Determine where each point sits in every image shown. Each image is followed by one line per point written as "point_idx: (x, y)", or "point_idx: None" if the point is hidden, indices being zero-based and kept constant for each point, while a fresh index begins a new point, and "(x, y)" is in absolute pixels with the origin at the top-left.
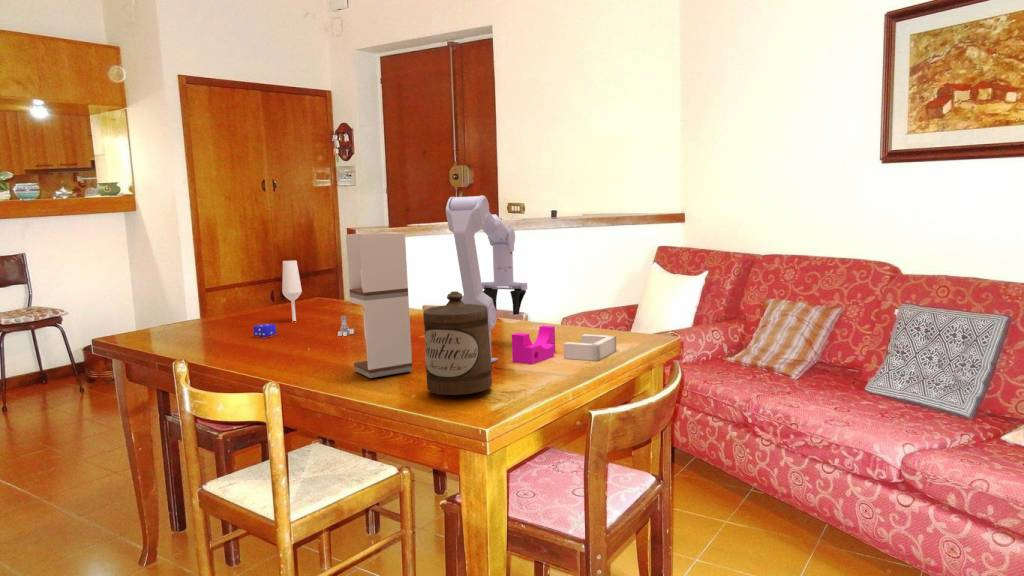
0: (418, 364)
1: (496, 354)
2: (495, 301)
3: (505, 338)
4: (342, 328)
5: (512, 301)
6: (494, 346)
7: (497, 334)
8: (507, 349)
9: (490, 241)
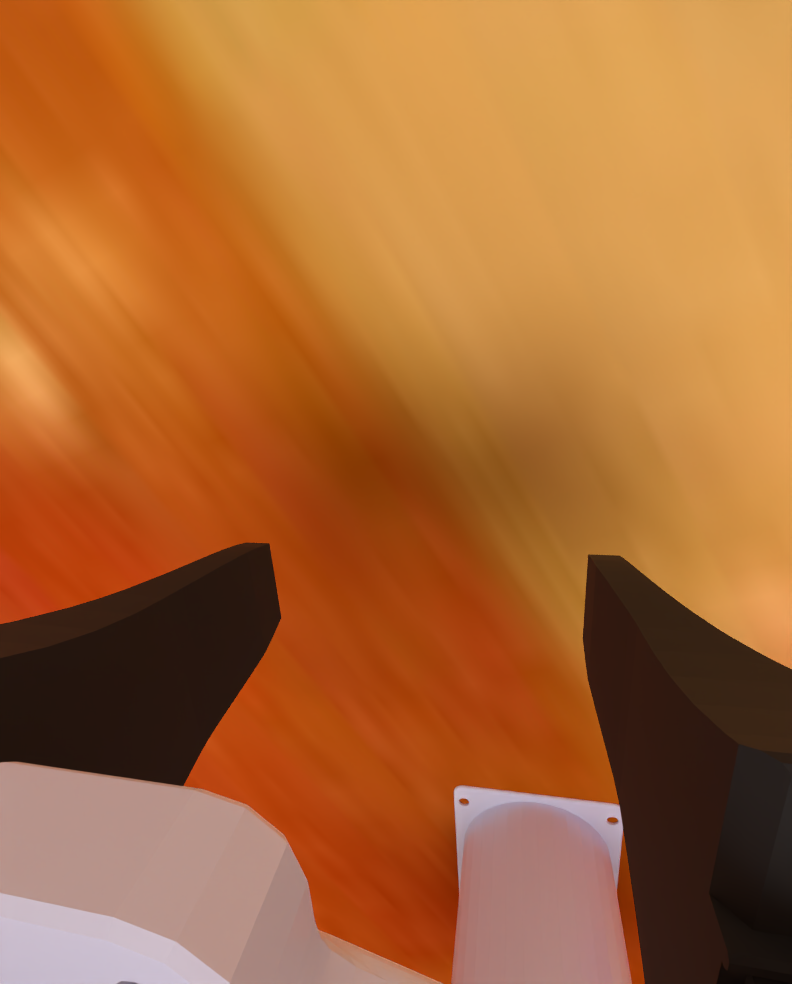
0: (318, 922)
1: (553, 720)
2: (174, 623)
3: (298, 213)
4: None
5: (627, 843)
6: (405, 526)
7: (115, 61)
8: (549, 586)
9: None
